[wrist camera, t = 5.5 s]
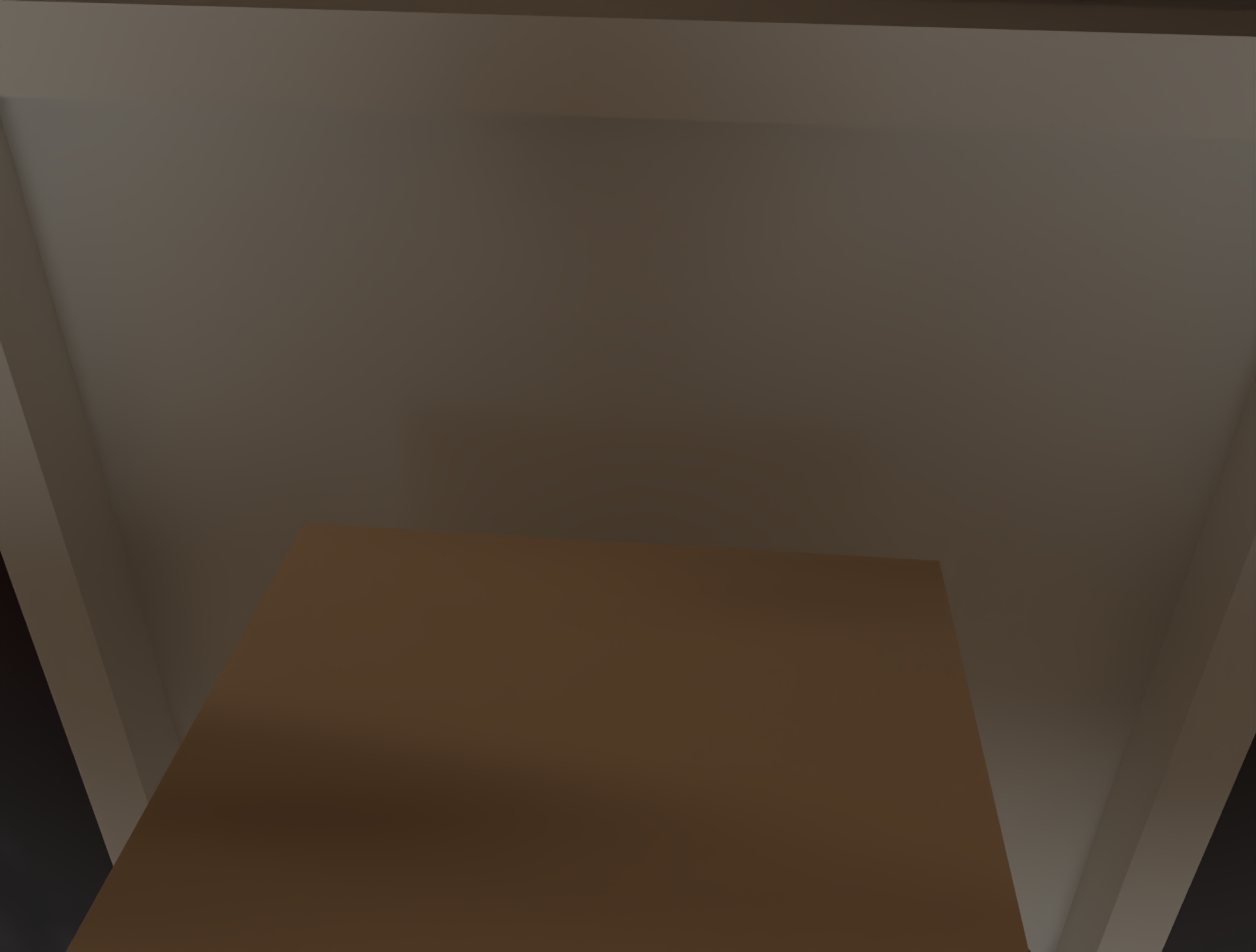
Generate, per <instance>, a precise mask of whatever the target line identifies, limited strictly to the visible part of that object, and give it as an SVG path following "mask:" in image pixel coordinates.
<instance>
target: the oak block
mask: <svg viewBox="0 0 1256 952" xmlns="http://www.w3.org/2000/svg"><path fill="white" fill-rule="evenodd" d="M66 952H1029V949H1028V945H1027V940H1026V936H1025V932H1024V927H1023V923H1022V919H1021V914H1020V910H1019V906H1018V901H1017V897H1016V893H1015V888H1014V884H1013V880H1012V875H1011V871H1010V867H1009V862H1008V858H1007V853H1006V849H1005V845H1004V840H1003V836H1002V832H1001V827H1000V823H999V819H998V814H997V810H996V806H995V801H994V797H993V793H992V788H991V784H990V780H989V775H988V771H987V767H986V762H985V758H984V753H983V749H982V745H981V740H980V736H979V732H978V727H977V723H976V719H975V714H974V710H973V706H972V701H971V697H970V693H969V688H968V684H967V680H966V675H965V671H964V667H963V662H962V658H961V654H960V649H959V645H958V640H957V636H956V632H955V627H954V623H953V619H952V614H951V610H950V606H949V601H948V597H947V593H946V588H945V584H944V580H943V575H942V571H941V567H940V562H939V561H936V560H919V559H902V558H885V557H868V556H851V555H834V554H818V553H801V552H784V551H767V550H750V549H733V548H716V547H700V546H683V545H666V544H649V543H632V542H615V541H598V540H582V539H565V538H548V537H531V536H514V535H497V534H480V533H464V532H447V531H430V530H413V529H396V528H379V527H362V526H346V525H329V524H312V523H304V524H303V526H302V528H301V530H300V531H299V533H298V535H297V537H296V539H295V540H294V542H293V544H292V546H291V548H290V549H289V551H288V553H287V555H286V557H285V558H284V560H283V562H282V564H281V566H280V567H279V569H278V571H277V573H276V575H275V576H274V578H273V580H272V582H271V584H270V585H269V587H268V589H267V591H266V593H265V594H264V596H263V598H262V600H261V602H260V603H259V605H258V607H257V609H256V611H255V612H254V614H253V616H252V618H251V620H250V621H249V623H248V625H247V627H246V629H245V630H244V632H243V634H242V636H241V638H240V639H239V641H238V643H237V645H236V647H235V648H234V650H233V652H232V654H231V656H230V657H229V659H228V661H227V663H226V665H225V666H224V668H223V670H222V672H221V674H220V675H219V677H218V679H217V681H216V683H215V684H214V686H213V688H212V690H211V692H210V693H209V695H208V697H207V699H206V700H205V702H204V704H203V706H202V708H201V709H200V711H199V713H198V715H197V717H196V718H195V720H194V722H193V724H192V726H191V727H190V729H189V731H188V733H187V735H186V736H185V738H184V740H183V742H182V744H181V745H180V747H179V749H178V751H177V753H176V754H175V756H174V758H173V760H172V762H171V763H170V765H169V767H168V769H167V771H166V772H165V774H164V776H163V778H162V780H161V781H160V783H159V785H158V787H157V789H156V790H155V792H154V794H153V796H152V798H151V799H150V801H149V803H148V805H147V807H146V808H145V810H144V812H143V814H142V816H141V817H140V819H139V821H138V823H137V825H136V826H135V828H134V830H133V832H132V834H131V835H130V837H129V839H128V841H127V843H126V844H125V846H124V848H123V850H122V852H121V853H120V855H119V857H118V859H117V861H116V862H115V864H114V866H113V868H112V870H111V871H110V873H109V875H108V877H107V879H106V880H105V882H104V884H103V886H102V888H101V889H100V891H99V893H98V895H97V897H96V898H95V900H94V902H93V904H92V906H91V907H90V909H89V911H88V913H87V915H86V916H85V918H84V920H83V922H82V924H81V925H80V927H79V929H78V931H77V933H76V934H75V936H74V938H73V940H72V942H71V943H70V945H69V947H68V949H67V951H66Z"/></svg>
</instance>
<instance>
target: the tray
mask: <svg viewBox="0 0 1256 952" xmlns="http://www.w3.org/2000/svg"><path fill="white" fill-rule="evenodd" d="M304 523H312V524H329V525H346V526H362V527H379V528H396V529H413V530H430V531H447V532H464V533H480V534H497V535H514V536H531V537H548V538H565V539H582V540H598V541H615V542H632V543H649V544H666V545H683V546H700V547H716V548H733V549H750V550H767V551H784V552H801V553H818V554H834V555H851V556H868V557H885V558H902V559H919V560H936V561H939V562H940V567H941V571H942V575H943V580H944V584H945V588H946V593H947V597H948V601H949V606H950V610H951V614H952V619H953V623H954V627H955V632H956V636H957V640H958V645H959V649H960V654H961V658H962V662H963V667H964V671H965V675H966V680H967V684H968V688H969V693H970V697H971V701H972V706H973V710H974V714H975V719H976V723H977V727H978V732H979V736H980V740H981V745H982V749H983V753H984V758H985V762H986V767H987V771H988V775H989V780H990V784H991V788H992V793H993V797H994V801H995V806H996V810H997V814H998V819H999V823H1000V827H1001V832H1002V836H1003V840H1004V845H1005V849H1006V853H1007V858H1008V862H1009V867H1010V871H1011V875H1012V880H1013V884H1014V888H1015V893H1016V897H1017V901H1018V906H1019V910H1020V914H1021V919H1022V923H1023V927H1024V932H1025V936H1026V940H1027V945H1028V948H1029V950H1030V951H1031V952H1162V949H1163V947H1164V945H1165V942H1166V940H1167V938H1168V936H1169V933H1170V931H1171V929H1172V926H1173V924H1174V922H1175V919H1176V917H1177V915H1178V912H1179V910H1180V908H1181V905H1182V903H1183V901H1184V898H1185V896H1186V894H1187V891H1188V889H1189V887H1190V884H1191V882H1192V880H1193V877H1194V875H1195V873H1196V870H1197V868H1198V866H1199V863H1200V861H1201V859H1202V857H1203V854H1204V852H1205V850H1206V847H1207V845H1208V843H1209V840H1210V838H1211V836H1212V833H1213V831H1214V829H1215V826H1216V824H1217V822H1218V819H1219V817H1220V815H1221V812H1222V810H1223V808H1224V805H1225V803H1226V801H1227V798H1228V796H1229V794H1230V791H1231V789H1232V787H1233V784H1234V782H1235V780H1236V777H1237V775H1238V773H1239V771H1240V768H1241V766H1242V764H1243V761H1244V759H1245V757H1246V754H1247V752H1248V750H1249V747H1250V745H1251V743H1252V740H1253V738H1254V736H1255V733H1256V0H0V551H1V554H2V557H3V560H4V562H5V565H6V568H7V571H8V574H9V576H10V579H11V582H12V585H13V588H14V590H15V593H16V596H17V599H18V602H19V604H20V607H21V610H22V613H23V616H24V618H25V621H26V624H27V627H28V629H29V632H30V635H31V638H32V641H33V643H34V646H35V649H36V652H37V655H38V657H39V660H40V663H41V666H42V669H43V671H44V674H45V677H46V680H47V683H48V685H49V688H50V691H51V694H52V696H53V699H54V702H55V705H56V708H57V710H58V713H59V716H60V719H61V722H62V724H63V727H64V730H65V733H66V736H67V738H68V741H69V744H70V747H71V750H72V752H73V755H74V758H75V761H76V763H77V766H78V769H79V772H80V775H81V777H82V780H83V783H84V786H85V789H86V791H87V794H88V797H89V800H90V803H91V805H92V808H93V811H94V814H95V817H96V819H97V822H98V825H99V828H100V830H101V833H102V836H103V839H104V842H105V844H106V847H107V850H108V853H109V856H110V858H111V861H112V864H113V866H114V864H115V862H116V861H117V859H118V857H119V855H120V853H121V852H122V850H123V848H124V846H125V844H126V843H127V841H128V839H129V837H130V835H131V834H132V832H133V830H134V828H135V826H136V825H137V823H138V821H139V819H140V817H141V816H142V814H143V812H144V810H145V808H146V807H147V805H148V803H149V801H150V799H151V798H152V796H153V794H154V792H155V790H156V789H157V787H158V785H159V783H160V781H161V780H162V778H163V776H164V774H165V772H166V771H167V769H168V767H169V765H170V763H171V762H172V760H173V758H174V756H175V754H176V753H177V751H178V749H179V747H180V745H181V744H182V742H183V740H184V738H185V736H186V735H187V733H188V731H189V729H190V727H191V726H192V724H193V722H194V720H195V718H196V717H197V715H198V713H199V711H200V709H201V708H202V706H203V704H204V702H205V700H206V699H207V697H208V695H209V693H210V692H211V690H212V688H213V686H214V684H215V683H216V681H217V679H218V677H219V675H220V674H221V672H222V670H223V668H224V666H225V665H226V663H227V661H228V659H229V657H230V656H231V654H232V652H233V650H234V648H235V647H236V645H237V643H238V641H239V639H240V638H241V636H242V634H243V632H244V630H245V629H246V627H247V625H248V623H249V621H250V620H251V618H252V616H253V614H254V612H255V611H256V609H257V607H258V605H259V603H260V602H261V600H262V598H263V596H264V594H265V593H266V591H267V589H268V587H269V585H270V584H271V582H272V580H273V578H274V576H275V575H276V573H277V571H278V569H279V567H280V566H281V564H282V562H283V560H284V558H285V557H286V555H287V553H288V551H289V549H290V548H291V546H292V544H293V542H294V540H295V539H296V537H297V535H298V533H299V531H300V530H301V528H302V526H303V524H304Z"/></svg>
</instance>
